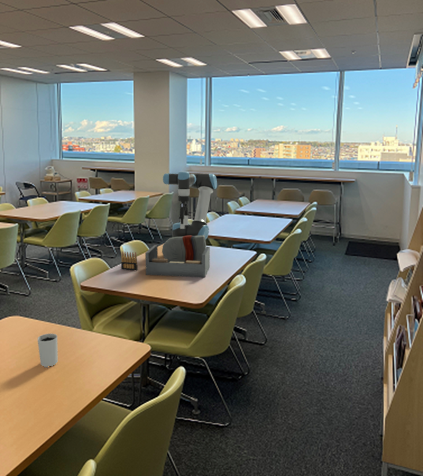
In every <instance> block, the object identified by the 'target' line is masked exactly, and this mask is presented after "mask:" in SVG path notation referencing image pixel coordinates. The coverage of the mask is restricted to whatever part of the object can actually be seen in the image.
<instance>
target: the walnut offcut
mask: <svg viewBox="0 0 423 476" xmlns="http://www.w3.org/2000/svg"><path fill="white" fill-rule="evenodd" d="M152 262H167V263H168V259H165V258H158V259H153V260H152Z"/></svg>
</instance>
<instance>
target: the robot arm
mask: <svg viewBox="0 0 423 476" xmlns="http://www.w3.org/2000/svg"><path fill="white" fill-rule="evenodd" d="M162 182H163V184H164V185H177V186H178V187H177V192H178V197H177V199H178V201H177V202H181V203H180V205H179V206H180V207H179V208H180V209H179V217H178V220H179V222H176V223H173V224H172V230H171V231H172V238H173V237H183V236H188V235H192V236H200V235H204V236H205V241H206V240H207V239H208V237H209V233H210V227H209V225H208V223H207V222H206V221H207V216H208V211H209V206H210V200H211V194H213V193H214V190H216V189H217V188H218V181H217V176H216V175H215V174H213V173H198V172H197V173H190V172H189V171H179V172H177V173H168V172H167V173H164V174H163V175H162ZM190 188H191V189H198V191H199V193H198V199H197V203H196V204H197V205H196V208H195V214H194V220H192V221H191V224H190V223H189V215H190V214H189V207H188V202H190V201H191V199H190V198H191V197H190V190H191V189H190Z"/></svg>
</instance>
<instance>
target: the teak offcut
mask: <svg viewBox="0 0 423 476" xmlns="http://www.w3.org/2000/svg"><path fill="white" fill-rule="evenodd" d="M186 263H193V264H201V261H186Z"/></svg>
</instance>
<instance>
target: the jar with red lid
mask: <svg viewBox="0 0 423 476" xmlns="http://www.w3.org/2000/svg"><path fill="white" fill-rule="evenodd" d="M206 247H207V242H206V240H205V236H204V235H200V236H192V235H188V236H183V237H173V236H172V237H170V238H168V239H167V240H166V241H165V242H164V243H163V245H162V248H161V249H162V250H161V253H162V256H163V259H168V261H201V262H202V254H203V252H204V251H205V249H206Z"/></svg>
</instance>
